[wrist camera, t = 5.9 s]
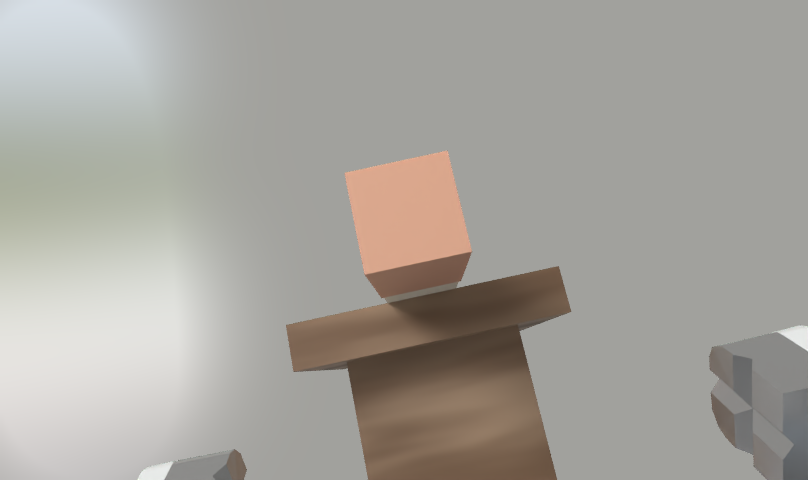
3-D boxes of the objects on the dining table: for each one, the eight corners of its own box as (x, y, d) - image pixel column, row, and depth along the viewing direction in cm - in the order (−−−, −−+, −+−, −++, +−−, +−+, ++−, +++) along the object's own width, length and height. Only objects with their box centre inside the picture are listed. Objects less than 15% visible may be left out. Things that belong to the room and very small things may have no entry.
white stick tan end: (471, 251, 16) (447, 150, 17) (364, 274, 16) (344, 172, 17) (447, 317, 40) (437, 273, 41) (402, 327, 40) (393, 283, 41)
